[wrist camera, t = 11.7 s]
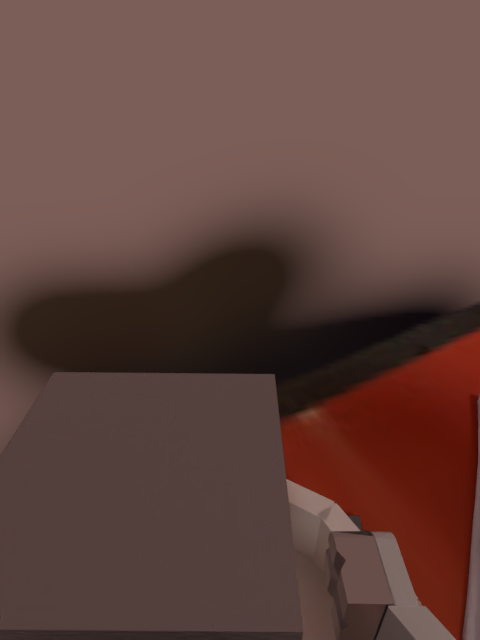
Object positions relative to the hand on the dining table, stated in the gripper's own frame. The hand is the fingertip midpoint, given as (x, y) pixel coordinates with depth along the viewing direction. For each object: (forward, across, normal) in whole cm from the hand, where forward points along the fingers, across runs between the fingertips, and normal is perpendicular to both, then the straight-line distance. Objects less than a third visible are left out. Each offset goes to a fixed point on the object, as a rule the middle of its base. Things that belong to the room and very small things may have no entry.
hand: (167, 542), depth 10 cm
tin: (-1, 0, +8) cm, 8 cm away
